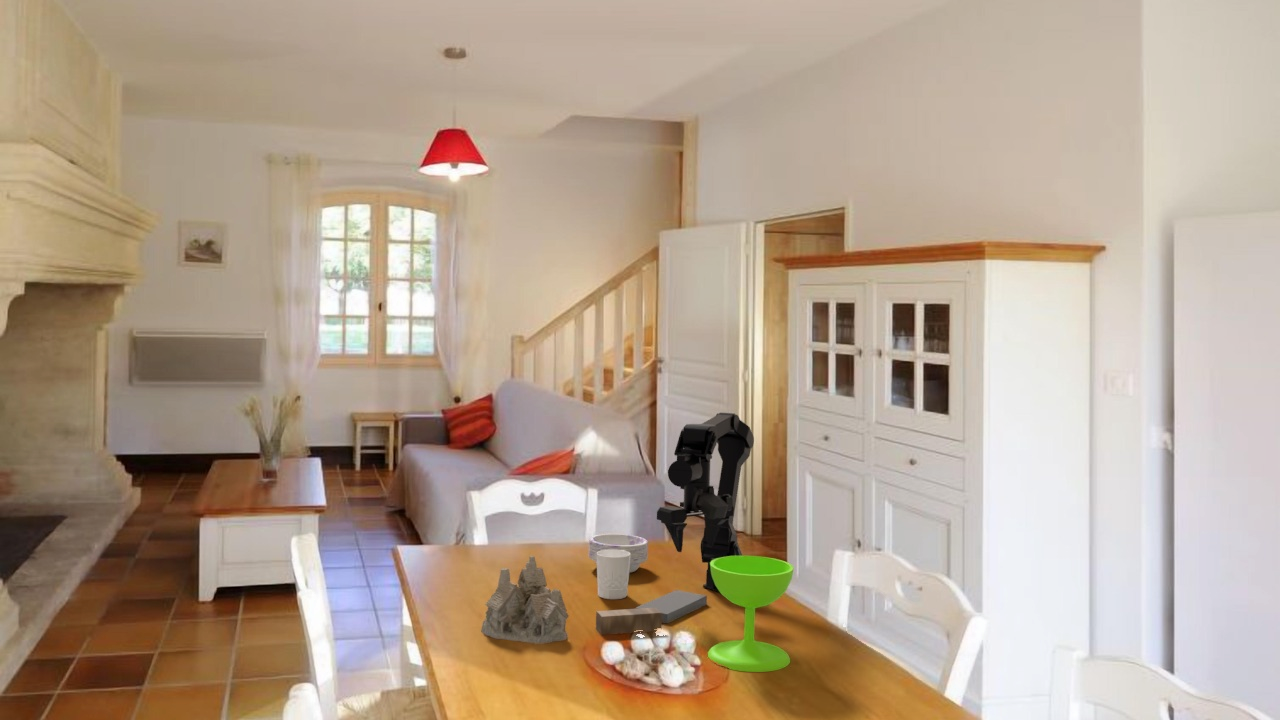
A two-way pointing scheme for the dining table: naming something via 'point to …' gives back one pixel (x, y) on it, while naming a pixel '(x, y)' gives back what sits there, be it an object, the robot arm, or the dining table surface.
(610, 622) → the walnut block
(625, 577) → the white cup
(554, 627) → the ceramic cottage
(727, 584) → the wineglass
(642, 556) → the paper bowls
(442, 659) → the dining table surface
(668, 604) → the slate board
